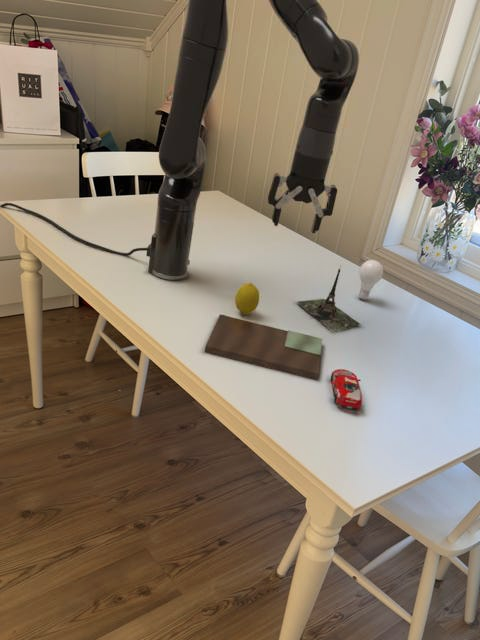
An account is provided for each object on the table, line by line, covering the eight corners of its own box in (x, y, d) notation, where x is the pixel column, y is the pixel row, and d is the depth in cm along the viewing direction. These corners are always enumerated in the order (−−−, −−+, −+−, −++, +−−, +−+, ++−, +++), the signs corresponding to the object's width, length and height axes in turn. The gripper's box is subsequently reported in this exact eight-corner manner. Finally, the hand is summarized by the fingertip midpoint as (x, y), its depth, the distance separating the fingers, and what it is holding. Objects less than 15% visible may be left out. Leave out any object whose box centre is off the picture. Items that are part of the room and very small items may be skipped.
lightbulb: (376, 299, 166) (389, 261, 159) (370, 306, 161) (383, 267, 154) (354, 291, 167) (366, 253, 161) (348, 298, 162) (360, 260, 156)
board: (204, 352, 125) (205, 345, 124) (218, 319, 138) (220, 313, 137) (316, 380, 124) (318, 373, 123) (320, 345, 137) (322, 338, 136)
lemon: (253, 322, 140) (260, 290, 136) (230, 316, 141) (236, 284, 136) (257, 312, 145) (264, 281, 140) (235, 306, 145) (241, 275, 140)
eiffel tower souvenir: (361, 327, 149) (379, 277, 142) (332, 332, 144) (348, 280, 136) (323, 300, 158) (338, 251, 151) (294, 303, 153) (307, 253, 145)
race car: (328, 375, 127) (333, 359, 125) (353, 380, 127) (359, 363, 125) (333, 410, 116) (339, 393, 114) (360, 415, 117) (366, 398, 114)
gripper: (344, 154, 128) (323, 229, 137) (279, 140, 126) (262, 217, 136) (349, 163, 122) (327, 240, 131) (280, 148, 120) (263, 228, 130)
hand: (294, 228), depth 133 cm, fingers open, 8 cm apart
